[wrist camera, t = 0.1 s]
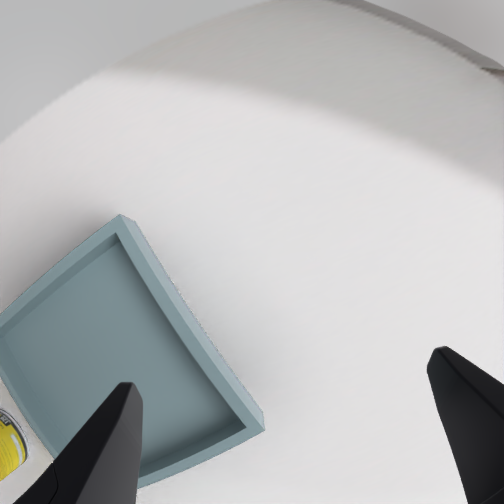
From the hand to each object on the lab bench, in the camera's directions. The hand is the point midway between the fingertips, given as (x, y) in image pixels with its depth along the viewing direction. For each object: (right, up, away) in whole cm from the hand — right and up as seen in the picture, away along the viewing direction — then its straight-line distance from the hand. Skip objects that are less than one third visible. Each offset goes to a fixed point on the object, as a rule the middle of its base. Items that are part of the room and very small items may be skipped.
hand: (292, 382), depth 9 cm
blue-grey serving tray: (-11, -5, +14) cm, 19 cm away
